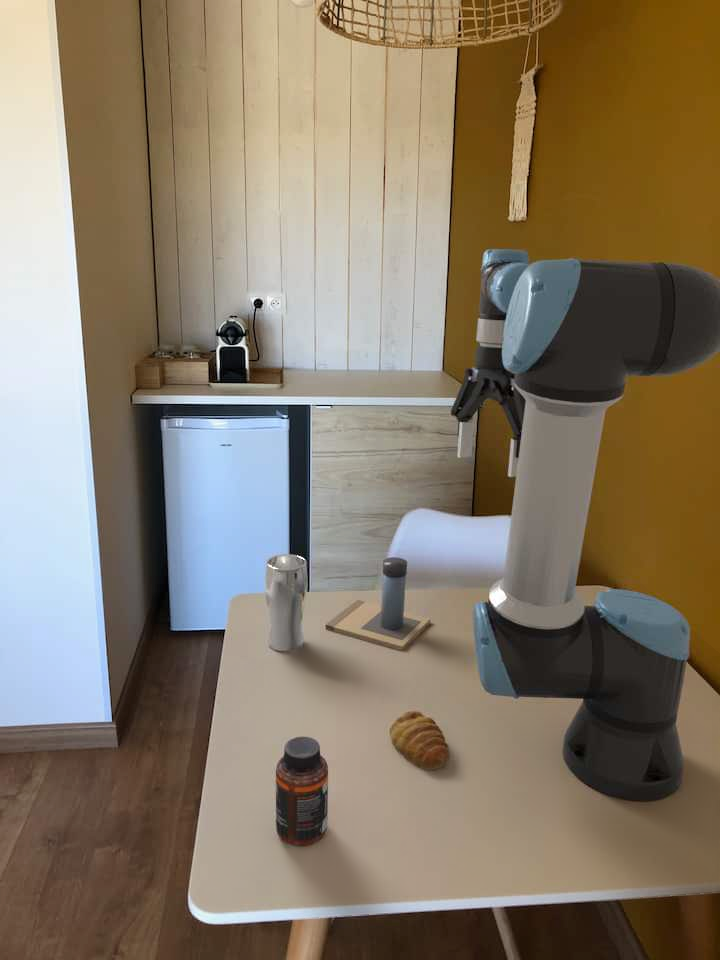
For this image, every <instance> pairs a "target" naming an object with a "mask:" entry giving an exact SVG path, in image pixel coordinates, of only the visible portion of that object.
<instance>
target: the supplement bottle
mask: <svg viewBox="0 0 720 960" xmlns="http://www.w3.org/2000/svg"><path fill="white" fill-rule="evenodd" d="M283 748H284V749H283V751H284V752H283V753H284V754H283V756H282V757H281V758H280V759H279V760H278V762H277V764H276V766H275V767H276V768H275V828H276V835H278V838H280V840H281V841H283V842H284V843H286V844H287V845H290V846H293V847H308V846H311V845H314V844H316V843H319V841H320V840H322V839H323V838H324V836H325V834H326V833H327V829H328V818H329V817H328V812H329V811H328V809H329V808H328V807H329V806H328V805H329V803H328V801H329V798H328V796H329V795H328V794H329V768H328V767H329V766H328V763H327V760H326V759H325V758H324V756H322V755H321V745H320V743H319V741H317V740H316V739H315V738H313V737H310V736H296V737H293V738H291V739H289V740H288V741H286V743H285V745H284V747H283Z"/></svg>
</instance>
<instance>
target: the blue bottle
mask: <svg viewBox="0 0 720 960" xmlns="http://www.w3.org/2000/svg"><path fill="white" fill-rule="evenodd" d="M407 571H408V560H406V559H404V558H401V557H397V556H396V557H393V556H391V557H386V558H384V559H383V560H382V582H381V583H382V584H381V585H382V586H381V589H382V590H381V603H380V604H381V605H380V606H381V622H380V625H381V626H382V627H383V628H385V629H388V630H397V629H400V628H402V627H403V615H404V612H405V598H406V597H405V596H406V580H407V573H408V572H407Z"/></svg>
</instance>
